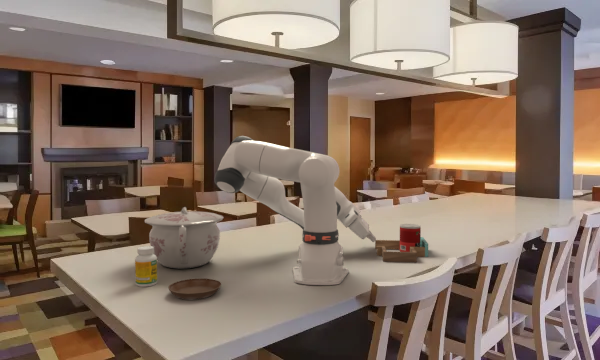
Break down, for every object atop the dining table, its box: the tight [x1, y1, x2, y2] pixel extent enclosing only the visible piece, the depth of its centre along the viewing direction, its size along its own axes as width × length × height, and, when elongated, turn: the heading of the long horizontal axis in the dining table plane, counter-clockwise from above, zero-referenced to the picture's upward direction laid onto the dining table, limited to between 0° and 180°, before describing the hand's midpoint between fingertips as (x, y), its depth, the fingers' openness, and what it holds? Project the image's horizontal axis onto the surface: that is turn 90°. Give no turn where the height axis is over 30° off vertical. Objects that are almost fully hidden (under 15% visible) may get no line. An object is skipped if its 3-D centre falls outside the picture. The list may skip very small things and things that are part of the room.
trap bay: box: [381, 247, 418, 263], centre depth 165 cm, size 9×12×4 cm
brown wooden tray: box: [374, 239, 426, 258], centre depth 176 cm, size 13×18×4 cm
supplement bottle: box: [134, 245, 158, 288], centre depth 136 cm, size 6×6×11 cm
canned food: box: [399, 223, 422, 252], centre depth 175 cm, size 8×8×11 cm
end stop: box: [420, 236, 429, 258], centre depth 175 cm, size 13×1×5 cm, turn 173°
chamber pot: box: [144, 206, 225, 270], centre depth 159 cm, size 28×28×21 cm
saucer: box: [168, 277, 222, 301], centre depth 127 cm, size 15×15×3 cm
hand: (374, 240), depth 177 cm, fingers closed
